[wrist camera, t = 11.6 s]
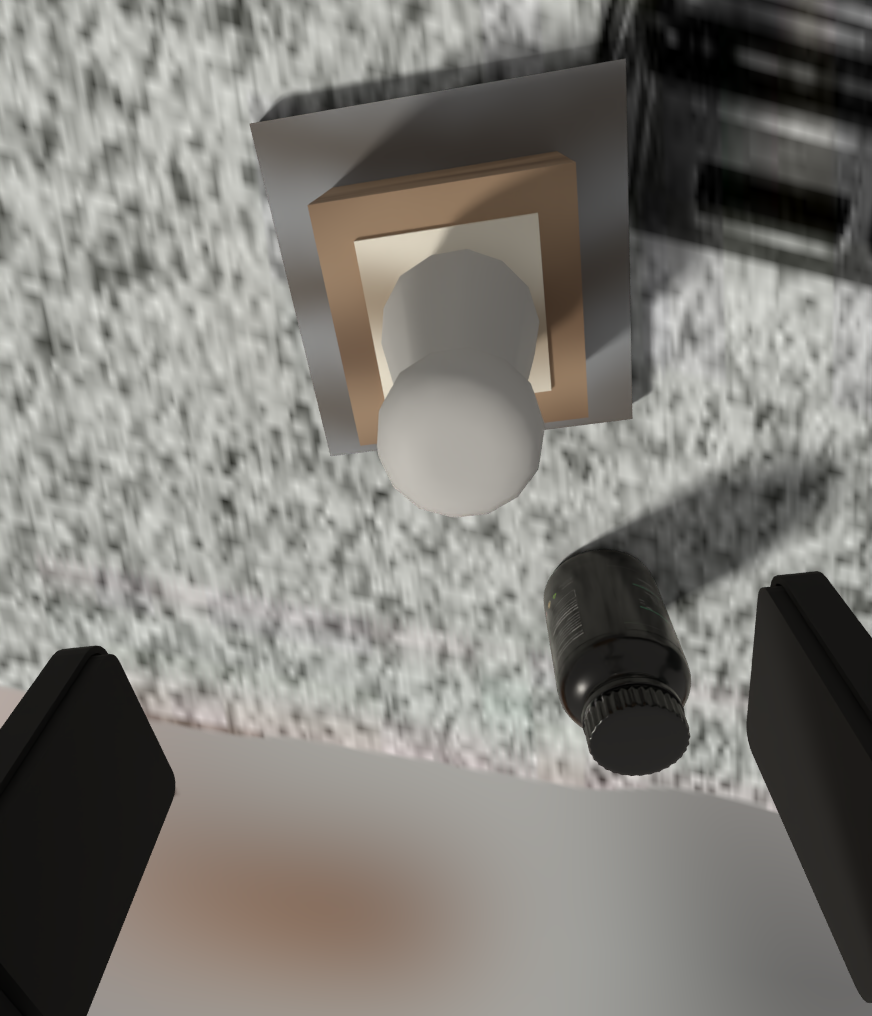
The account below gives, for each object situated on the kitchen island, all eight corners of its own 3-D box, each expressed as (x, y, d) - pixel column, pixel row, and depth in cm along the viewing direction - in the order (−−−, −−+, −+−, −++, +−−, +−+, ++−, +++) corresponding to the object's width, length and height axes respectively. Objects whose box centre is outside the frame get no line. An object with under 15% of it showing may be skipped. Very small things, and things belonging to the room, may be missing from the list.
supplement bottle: (566, 648, 47) (596, 806, 37) (524, 570, 44) (544, 717, 34) (669, 612, 45) (730, 767, 35) (632, 528, 42) (687, 669, 32)
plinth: (258, 122, 33) (205, 129, 26) (619, 60, 31) (662, 50, 24) (335, 444, 40) (309, 514, 34) (626, 407, 39) (660, 473, 32)
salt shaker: (371, 359, 30) (315, 520, 19) (409, 218, 27) (371, 305, 16) (504, 400, 31) (529, 579, 19) (555, 266, 28) (619, 383, 17)
